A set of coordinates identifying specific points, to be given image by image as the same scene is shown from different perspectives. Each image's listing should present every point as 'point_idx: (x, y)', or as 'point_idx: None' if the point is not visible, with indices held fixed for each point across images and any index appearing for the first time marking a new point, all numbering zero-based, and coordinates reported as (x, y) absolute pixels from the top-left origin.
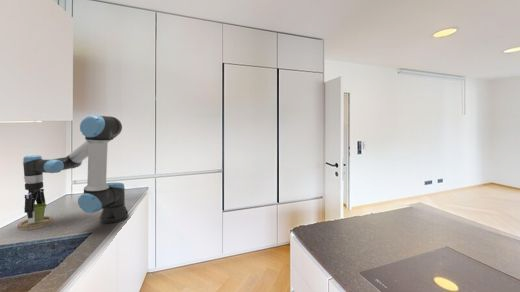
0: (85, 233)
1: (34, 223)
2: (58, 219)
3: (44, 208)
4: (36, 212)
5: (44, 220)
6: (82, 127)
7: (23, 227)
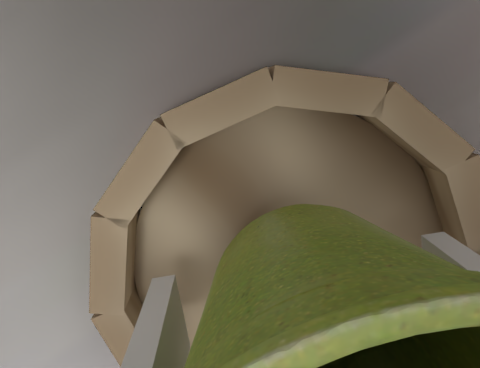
0: None
1: None
2: (124, 58)
3: (392, 269)
4: None
5: (182, 231)
6: None
7: None
